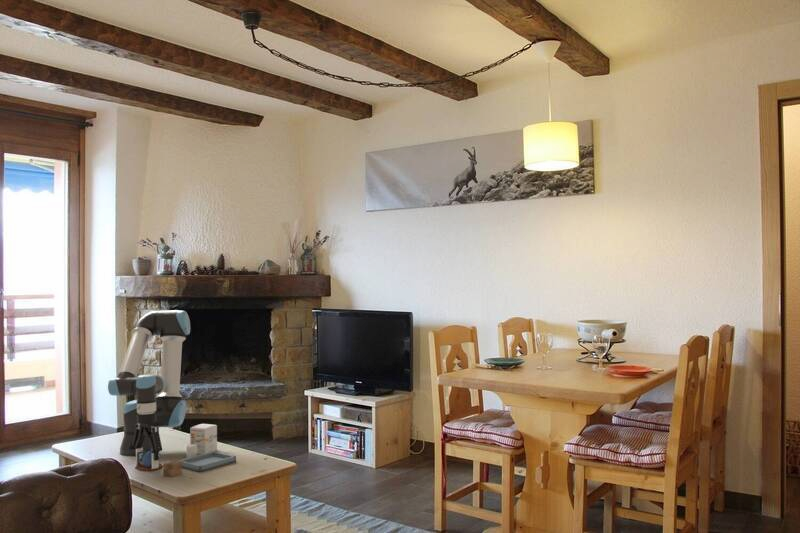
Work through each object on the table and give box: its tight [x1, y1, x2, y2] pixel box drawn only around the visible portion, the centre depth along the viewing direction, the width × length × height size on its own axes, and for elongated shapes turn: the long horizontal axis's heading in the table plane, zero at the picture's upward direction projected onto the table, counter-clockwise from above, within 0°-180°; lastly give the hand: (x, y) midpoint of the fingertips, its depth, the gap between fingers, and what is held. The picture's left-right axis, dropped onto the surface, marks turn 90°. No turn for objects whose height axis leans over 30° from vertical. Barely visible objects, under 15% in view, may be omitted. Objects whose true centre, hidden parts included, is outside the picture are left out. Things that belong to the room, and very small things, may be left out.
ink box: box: [189, 423, 218, 455], centre depth 295 cm, size 9×8×12 cm
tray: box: [178, 451, 237, 473], centre depth 274 cm, size 15×18×2 cm
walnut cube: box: [162, 459, 183, 478], centre depth 260 cm, size 5×5×5 cm
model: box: [134, 448, 163, 472], centre depth 271 cm, size 12×9×9 cm
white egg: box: [186, 444, 198, 459], centre depth 282 cm, size 4×4×6 cm
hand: (147, 466), depth 270 cm, fingers closed on model, 11 cm apart
